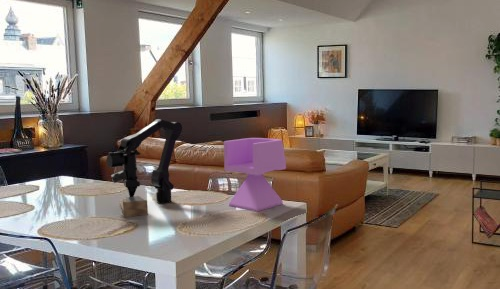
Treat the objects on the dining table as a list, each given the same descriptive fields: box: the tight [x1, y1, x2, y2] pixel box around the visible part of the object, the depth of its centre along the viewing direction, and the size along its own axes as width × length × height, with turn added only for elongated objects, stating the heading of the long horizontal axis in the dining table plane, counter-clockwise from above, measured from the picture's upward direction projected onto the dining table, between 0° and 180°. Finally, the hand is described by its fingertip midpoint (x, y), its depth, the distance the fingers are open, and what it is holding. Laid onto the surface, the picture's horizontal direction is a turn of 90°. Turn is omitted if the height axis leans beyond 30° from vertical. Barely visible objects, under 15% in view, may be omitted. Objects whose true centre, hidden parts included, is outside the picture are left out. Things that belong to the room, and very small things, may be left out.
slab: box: [125, 195, 145, 202], centre depth 222 cm, size 6×12×2 cm, turn 28°
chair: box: [223, 137, 287, 213], centre depth 227 cm, size 20×20×30 cm
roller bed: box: [119, 197, 126, 216], centre depth 225 cm, size 10×22×4 cm, turn 19°
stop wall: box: [122, 199, 149, 218], centre depth 215 cm, size 10×2×6 cm, turn 109°
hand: (131, 198), depth 228 cm, fingers closed
